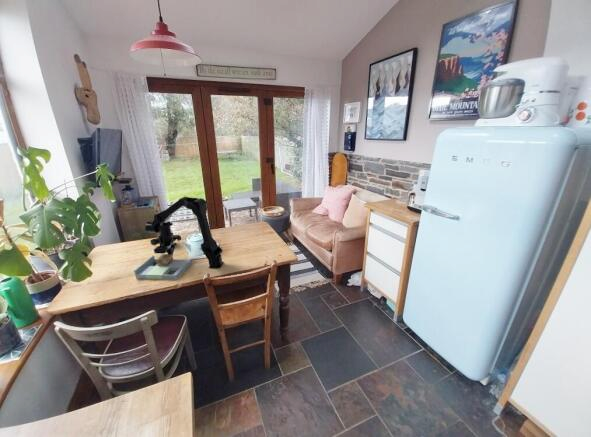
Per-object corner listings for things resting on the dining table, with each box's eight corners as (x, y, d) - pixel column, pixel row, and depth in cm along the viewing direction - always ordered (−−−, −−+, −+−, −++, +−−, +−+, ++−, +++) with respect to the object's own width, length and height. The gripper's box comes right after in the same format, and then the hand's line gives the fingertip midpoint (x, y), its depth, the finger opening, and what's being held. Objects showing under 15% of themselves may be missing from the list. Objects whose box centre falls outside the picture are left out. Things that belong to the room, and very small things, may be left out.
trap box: (191, 263, 143) (189, 256, 141) (176, 279, 128) (175, 271, 126) (154, 262, 145) (152, 255, 143) (136, 278, 130) (133, 270, 128)
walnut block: (173, 260, 142) (172, 254, 141) (167, 265, 136) (166, 259, 135) (163, 260, 143) (162, 254, 141) (157, 265, 137) (155, 259, 135)
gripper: (161, 226, 148) (167, 248, 154) (141, 239, 131) (148, 264, 136) (179, 226, 147) (184, 249, 153) (161, 240, 130) (167, 265, 135)
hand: (171, 256), depth 144 cm, fingers closed
